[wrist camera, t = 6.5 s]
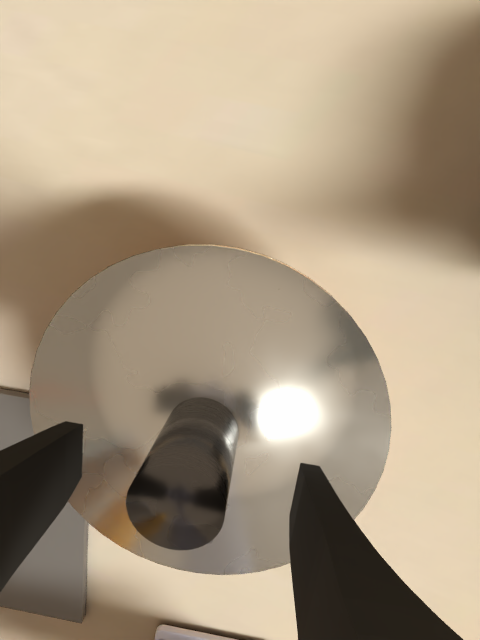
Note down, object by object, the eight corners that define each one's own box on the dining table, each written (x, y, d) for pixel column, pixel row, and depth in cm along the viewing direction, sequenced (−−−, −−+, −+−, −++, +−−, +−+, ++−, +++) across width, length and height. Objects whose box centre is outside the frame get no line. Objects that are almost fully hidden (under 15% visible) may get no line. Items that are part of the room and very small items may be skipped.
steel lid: (332, 589, 16) (356, 734, 11) (36, 518, 17) (-56, 630, 12) (435, 287, 12) (531, 322, 8) (50, 209, 13) (-75, 200, 8)
